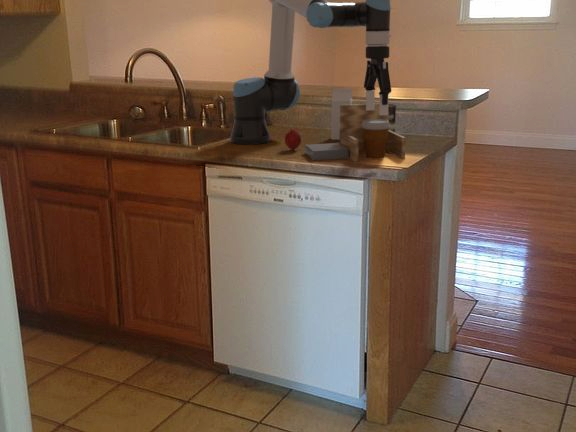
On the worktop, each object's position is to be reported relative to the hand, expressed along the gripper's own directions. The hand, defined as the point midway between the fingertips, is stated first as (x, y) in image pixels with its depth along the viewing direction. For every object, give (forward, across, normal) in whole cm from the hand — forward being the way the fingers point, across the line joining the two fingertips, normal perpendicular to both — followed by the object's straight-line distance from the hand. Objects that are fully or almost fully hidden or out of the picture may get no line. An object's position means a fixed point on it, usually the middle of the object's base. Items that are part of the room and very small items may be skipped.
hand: (376, 112), depth 215 cm
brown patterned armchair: (+15, +4, 0) cm, 15 cm away
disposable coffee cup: (+15, 0, 0) cm, 15 cm away
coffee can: (+15, +23, -10) cm, 29 cm away
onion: (+15, +19, +24) cm, 34 cm away
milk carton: (+14, +37, +1) cm, 40 cm away
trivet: (+15, +7, +15) cm, 22 cm away
